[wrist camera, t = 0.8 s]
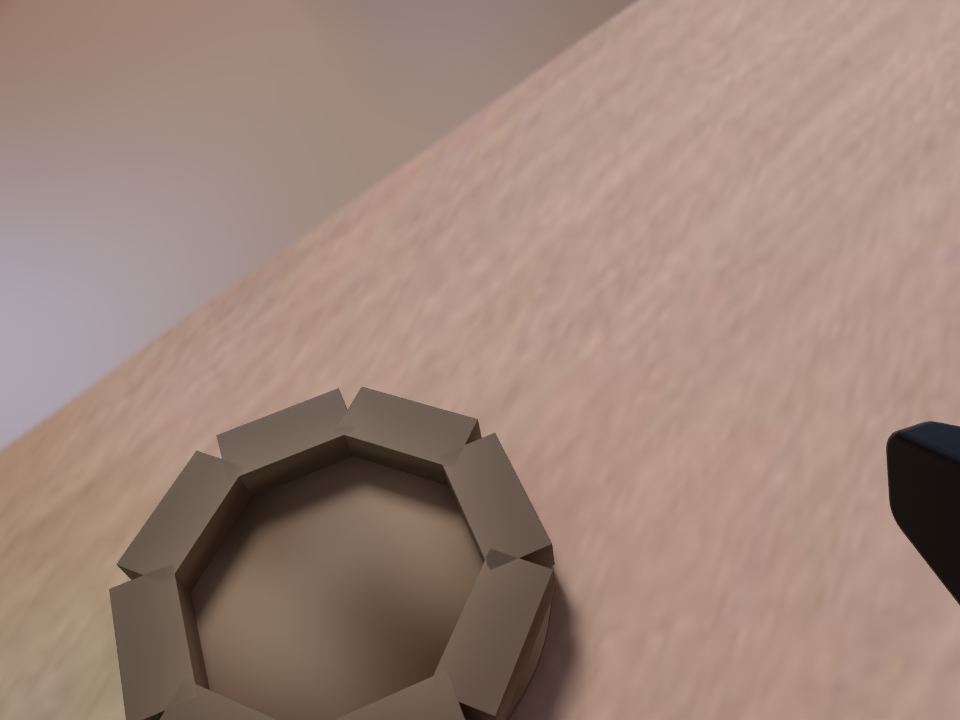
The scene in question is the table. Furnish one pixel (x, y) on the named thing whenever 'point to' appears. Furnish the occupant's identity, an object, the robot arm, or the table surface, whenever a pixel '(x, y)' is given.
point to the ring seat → (337, 573)
